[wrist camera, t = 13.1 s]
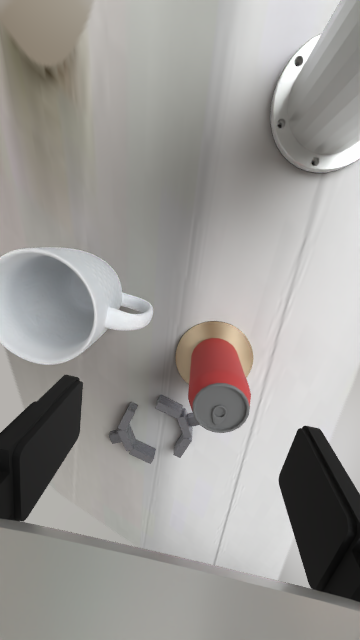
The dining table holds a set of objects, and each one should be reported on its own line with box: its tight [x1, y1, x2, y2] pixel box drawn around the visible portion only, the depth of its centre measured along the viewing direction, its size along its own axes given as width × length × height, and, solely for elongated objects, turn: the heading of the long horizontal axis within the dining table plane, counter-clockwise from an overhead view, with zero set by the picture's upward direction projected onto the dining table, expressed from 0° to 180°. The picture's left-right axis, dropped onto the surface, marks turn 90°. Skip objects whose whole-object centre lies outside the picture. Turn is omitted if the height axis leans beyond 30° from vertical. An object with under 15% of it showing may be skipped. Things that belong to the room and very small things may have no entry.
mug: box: [0, 247, 153, 365], centre depth 29 cm, size 15×11×13 cm
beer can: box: [188, 338, 251, 433], centre depth 30 cm, size 7×7×12 cm
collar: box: [109, 395, 200, 464], centre depth 40 cm, size 16×10×2 cm
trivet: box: [176, 321, 253, 384], centre depth 37 cm, size 11×11×1 cm
